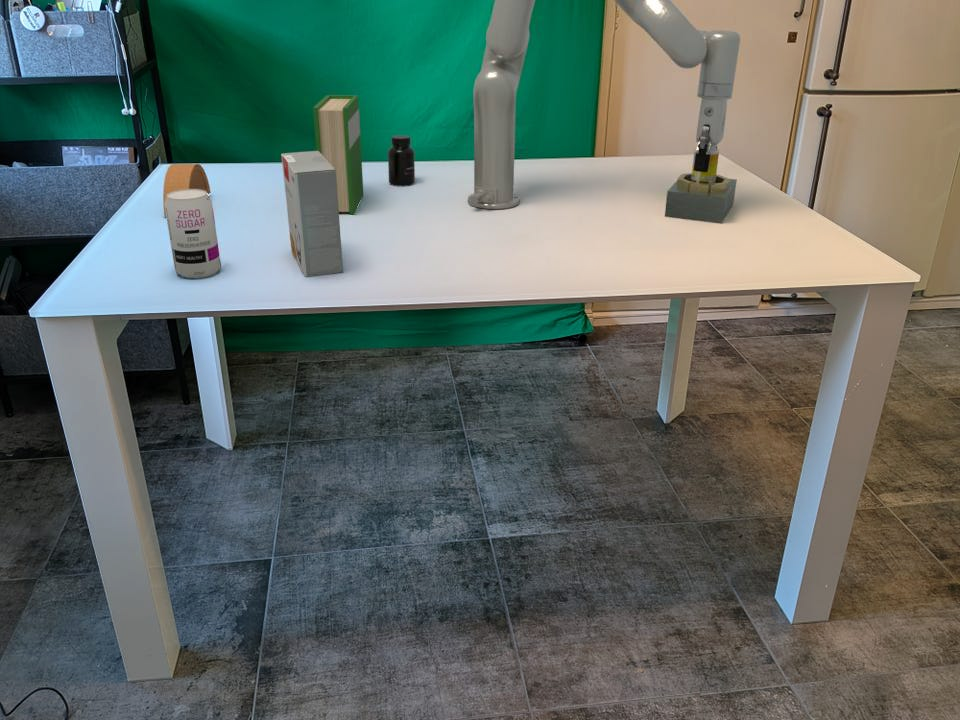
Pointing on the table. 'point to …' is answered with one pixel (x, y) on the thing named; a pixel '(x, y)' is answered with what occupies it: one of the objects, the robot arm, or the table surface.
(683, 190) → the grey block with ring
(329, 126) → the hardback book
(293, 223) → the hard drive box
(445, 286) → the table surface
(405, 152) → the supplement bottle
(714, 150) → the supplement bottle
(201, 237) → the supplement can
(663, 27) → the robot arm
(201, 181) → the arch
